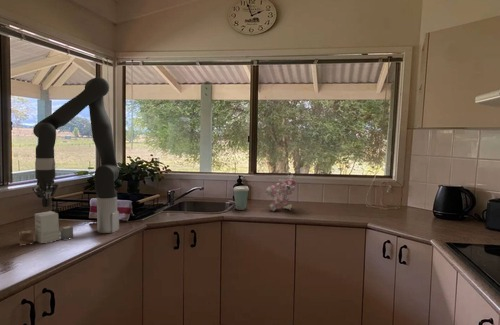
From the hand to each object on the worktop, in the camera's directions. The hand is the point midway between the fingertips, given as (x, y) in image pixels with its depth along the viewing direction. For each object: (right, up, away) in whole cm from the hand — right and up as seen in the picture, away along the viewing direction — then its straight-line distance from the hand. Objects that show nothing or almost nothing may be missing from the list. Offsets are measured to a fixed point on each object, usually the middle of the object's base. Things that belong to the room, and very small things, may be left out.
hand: (46, 206), depth 148 cm
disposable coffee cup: (+85, -12, +75) cm, 113 cm away
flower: (+111, -12, +74) cm, 134 cm away
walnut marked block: (-7, -16, -3) cm, 18 cm away
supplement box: (0, -16, +1) cm, 16 cm away
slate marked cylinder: (+6, -15, +5) cm, 18 cm away
